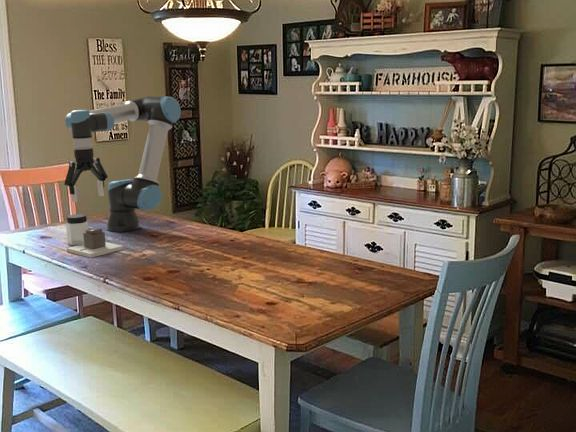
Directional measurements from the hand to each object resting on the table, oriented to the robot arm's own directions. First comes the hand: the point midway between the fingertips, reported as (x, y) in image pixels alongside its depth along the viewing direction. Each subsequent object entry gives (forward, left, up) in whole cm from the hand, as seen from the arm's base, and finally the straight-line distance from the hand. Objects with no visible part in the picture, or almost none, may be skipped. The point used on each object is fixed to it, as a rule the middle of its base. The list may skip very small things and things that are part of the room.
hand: (88, 198), depth 273 cm
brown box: (+4, +8, -19) cm, 21 cm away
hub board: (+4, +8, -20) cm, 22 cm away
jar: (0, -9, -21) cm, 22 cm away
